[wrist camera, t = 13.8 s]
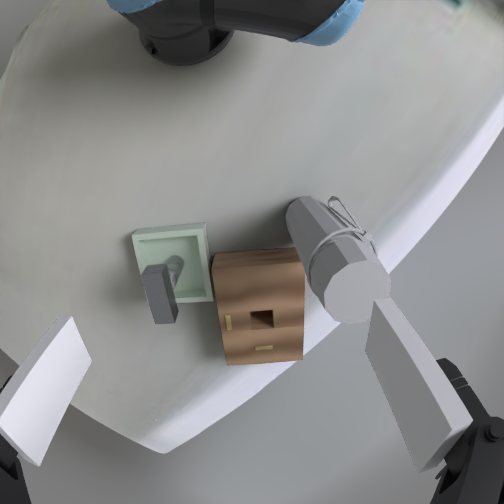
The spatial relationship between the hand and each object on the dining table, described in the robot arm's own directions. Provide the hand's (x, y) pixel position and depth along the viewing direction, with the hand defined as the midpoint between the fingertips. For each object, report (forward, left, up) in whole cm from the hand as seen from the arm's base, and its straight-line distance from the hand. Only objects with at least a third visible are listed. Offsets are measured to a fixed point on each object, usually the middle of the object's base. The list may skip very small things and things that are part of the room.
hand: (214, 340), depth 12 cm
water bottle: (+5, +11, -37) cm, 39 cm away
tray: (+12, -12, -37) cm, 40 cm away
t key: (+12, -12, -36) cm, 40 cm away
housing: (+21, +2, -37) cm, 42 cm away
